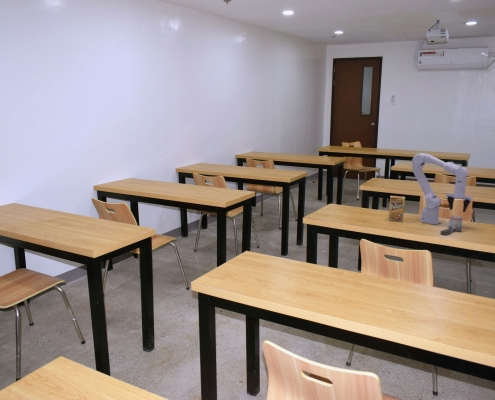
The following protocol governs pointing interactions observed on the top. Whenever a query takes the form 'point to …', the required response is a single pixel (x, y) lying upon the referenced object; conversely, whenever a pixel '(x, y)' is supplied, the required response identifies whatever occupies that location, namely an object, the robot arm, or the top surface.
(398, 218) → the candy box
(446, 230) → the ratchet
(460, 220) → the red-striped grey block
